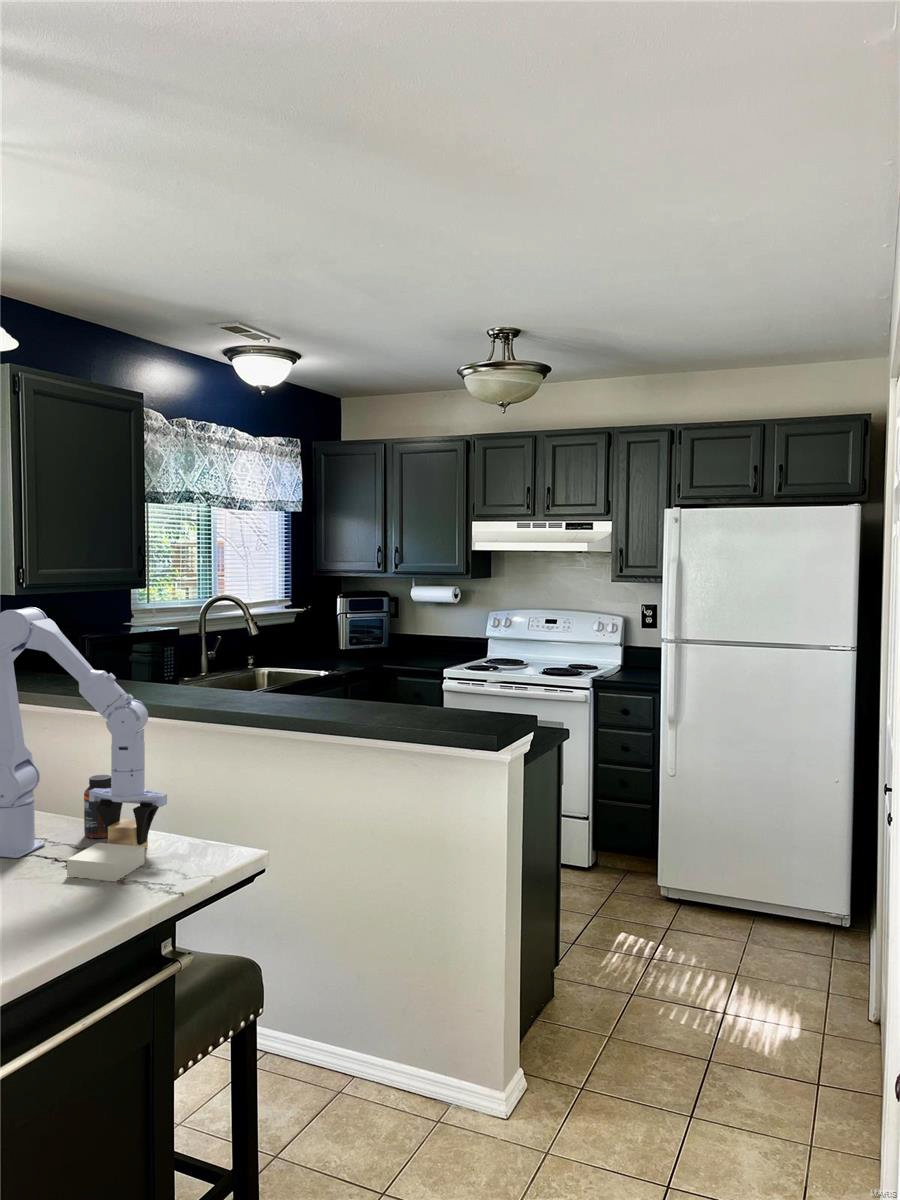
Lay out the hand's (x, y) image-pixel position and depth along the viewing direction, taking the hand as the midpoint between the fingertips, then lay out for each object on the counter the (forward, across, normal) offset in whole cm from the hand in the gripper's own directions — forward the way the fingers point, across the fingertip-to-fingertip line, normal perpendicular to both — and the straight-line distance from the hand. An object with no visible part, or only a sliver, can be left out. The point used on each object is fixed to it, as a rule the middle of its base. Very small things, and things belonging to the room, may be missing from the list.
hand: (128, 841), depth 165 cm
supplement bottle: (+2, -10, +7) cm, 12 cm away
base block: (+2, +2, -10) cm, 10 cm away
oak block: (+2, 0, 0) cm, 2 cm away
